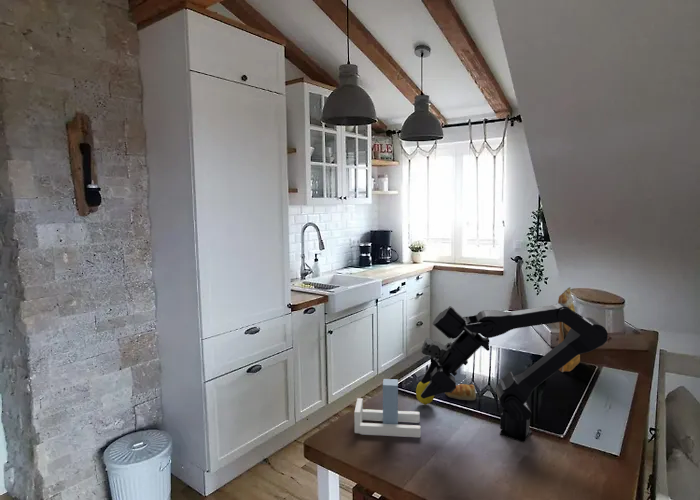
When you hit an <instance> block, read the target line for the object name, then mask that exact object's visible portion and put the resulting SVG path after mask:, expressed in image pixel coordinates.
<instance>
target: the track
mask: <svg viewBox="0 0 700 500" xmlns="http://www.w3.org/2000/svg"><path fill="white" fill-rule="evenodd" d="M363 403H364V399H363V397H362V398H361V397H357V398H356V402H355V406H354V407H355V409H354V416H353V417H354V419H353V420H354V434H360V435H363V436H364V435H366V436H382V437H383V436H386V437H387V436H388V437H405V438H421V433H422V430H421V425H417V424H416V425H413V424H398V425H397V424H383V423H377V422H383V409H366V408H365V409H364V404H363ZM420 416H421V415H420V411H413V410H412V411H410V410H398V423H420V422H421V421H420ZM363 421H370V422H363ZM371 421H374V422H375V423H373V422H371Z"/></svg>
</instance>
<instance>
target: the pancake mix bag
mask: <svg viewBox="0 0 700 500" xmlns="http://www.w3.org/2000/svg"><path fill="white" fill-rule="evenodd" d="M558 303H562V304H565V305H566V306H567V307H568V308H570V309H571V310H573V311H574V312H576V309H575V304H574V300H573V296H572V292H571V287H570V286H569V287H568V288H566V289H565V290H564V291H563V292H562V294H560V295H558V299H557V304H558ZM558 323H559V327H558V328H559V330H558V331H559V332H558V342H557V343H558V344H560V343H561V342H562V341H563V340H564V339H565V338H566V336H567V334H568V332H569V330H570V329H571V328H570V327H569V326H567V325H566V324H564V323H563V322H558ZM558 344H557V345H558ZM580 363H581V354H579V355H577V356H576V357H575V358H573V359H572V360H571V361H569V362H568V363H567V364H565V365H564V366H563V367H562V368H560V369H559V370H558V371H559V372H561V373H564V372H571V371H573V370H574V369H575V368H576V366H578V365H579V364H580Z"/></svg>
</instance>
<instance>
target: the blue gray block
mask: <svg viewBox="0 0 700 500" xmlns="http://www.w3.org/2000/svg"><path fill="white" fill-rule="evenodd" d="M382 410H383V421H382V424H397V425H399V422H398V411H399V379H394V378H393V379H392V378H383V381H382Z"/></svg>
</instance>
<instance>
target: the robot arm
mask: <svg viewBox="0 0 700 500" xmlns="http://www.w3.org/2000/svg"><path fill="white" fill-rule="evenodd" d="M559 322H563V323H564V324H566V325H567V326H569V327H570V328H571V329H570V330H569V332H568V334H567V336H566V338H565V339H564V340H563V341H562V342H561V343H560V344H557V345H556V346H554V348H552V349H551V350H550V351H548V352H547V353H546V354H545V355H543V356H542V357H541V358H540V359H537V361H535V362H534V363H533V364H532V365H530V366H529V367H528V368H526V370H524V371H523V372H521V373H518V374H516V375H514V373H513V372H512V371H509V372H508V373H507V374H506V375H505V376H504V377H502V378H501V379H500V378H499V379H498V381H499V382H498V384H497V385H496V388H495V389H496V390H495V391H496V395H497V399H498V401H499V404H500V406H501V407H502V408H503V409H502V413H500V419H499V421H500V423H499V428H500V431H499V435H501V436H504V437H506V438H510V439H512V440H516V441H519V442H522V443H524V442H526V441H527V439H528V438H529V437H530V435H531V433H532V429H530V425H531V424H530V423H531V422H530V421H531V416H532V414H533V413H532V411H531V409H530V406H529V404H528V402H527V401H528V400H529V398H530V396H531V395H532V393H533V391H534V390H535V389H536V388H538V387H539V385H541V384H542V383H544V381H546V380H547V379H549V378H550V377H551V376H552V375H554V374H556V373H557V372H558V371H559V369H560V368H562V367H563V366H564V365H565V364H567V363H568V362H569V361H571V360H572V359H573V358H575V357H576V356H577V355H579V354H580V355H582V354H586V353H589V352H592V351H594V350H597V349H598V348H600V347H602V346H604V345H605V344H606V343H607V341H608V336H609V334H608V331H607V329H606V328H605V327H604V326H603V325H602V324H600V323H599V321H596V320H595V319H594V318H592V317H584V316H582V315H580V314H579V313H578V312H576V311H575V312H574V311H573V310H571V309H570V308H568V307H567V306H566V305H565V304H562V303H558V302H557V303H556V304H552V305H546V306H539V307H533V308H524V309H520V310H513V311H504V310H492V309H491V310H490V309H487V310H481V311H478V313H477V314H473V315H467V316H462V315H461V314H460V313H458V312H457V311H456V310H455V308H453V307H452V305H451V306H450V305H449V306H448V307H447V308H446V309H444V310H443V311H440V312H439V313H438V314H437V316H436V317H435V318H434V320H433V322H432V326H433V327H435V328H436V329H438V330H439V332H441V333H442V334H443V335H444V336H445V337H446V338H447V339H452V340H454V341H452V342H451V341H450V342H447V344H443V343H441V342H439V341H437V340H434V339H431V338H428V337H426V338H425V339H424V342H423V344H422V347H421V353H422V354H423V355H425V356H429V357H430V359H429V360H430V363H429V366H428V368H427V369H426V371H425V373H424V374H423V377H422V378H421V380H420V382H422V383H423V384H425V383H427V382H430V383H429V384H428V385H427V387H426V388H425V390H424V391H423V392H422V394H421V397H422V398H423V399H424V398H427V397H431V396H434V397H435V396H436V395H440V394H441V395H442V394H445V392H447V393H448V392H449V393H452V392H453V391H454V390H455V389H456V385H457V383H456V382H457V381H456V378H455V377H456V376H457V375H458V370H459V369H460V368H461V367H462V366H463V365H464V366H467V364H469V361H468V360H469V359H470V358H471V357H472V356H473V355H474V354H475V353H476V352H477V351H478V350H479V349H480V348H481V347H482V348H484V349H485V350H486V351H488V352H490V339H491V338H495V337H498V336H501V335H504V334H507V333H508V332H509V331H512V330H515V329H522V328H530V327H534V326H535V327H536V326H543V325H548V324H549V325H550V324H556V323H559Z"/></svg>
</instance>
